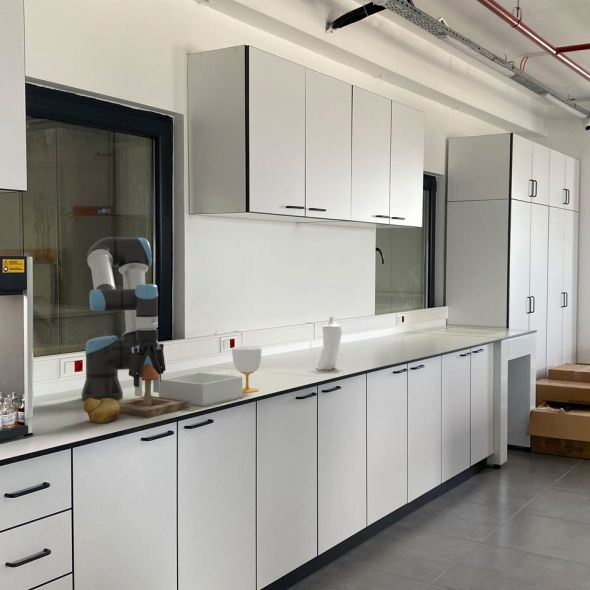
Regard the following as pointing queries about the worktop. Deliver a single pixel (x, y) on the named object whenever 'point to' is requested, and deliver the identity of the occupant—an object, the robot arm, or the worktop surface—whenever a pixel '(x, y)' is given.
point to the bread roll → (102, 409)
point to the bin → (202, 388)
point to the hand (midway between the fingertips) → (147, 394)
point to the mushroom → (148, 382)
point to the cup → (247, 362)
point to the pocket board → (152, 406)
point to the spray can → (330, 345)
